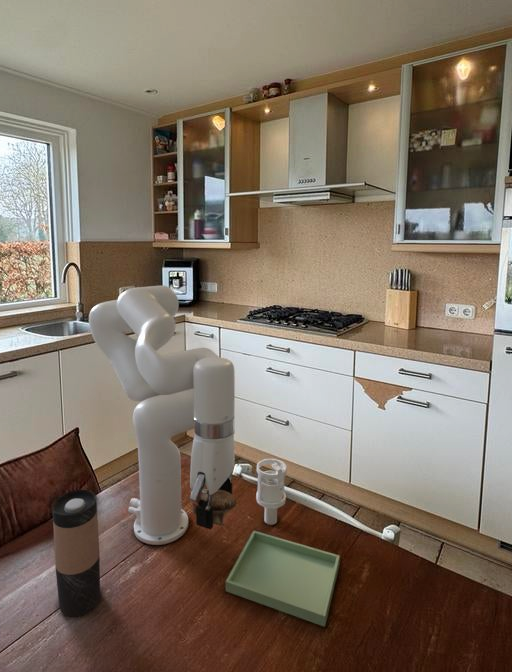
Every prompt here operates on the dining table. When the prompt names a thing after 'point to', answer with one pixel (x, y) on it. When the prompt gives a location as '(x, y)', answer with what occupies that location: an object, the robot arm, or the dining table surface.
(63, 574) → the travel mug
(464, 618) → the dining table surface
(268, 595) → the tray
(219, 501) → the mushroom
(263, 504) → the white open cylindrical frame
